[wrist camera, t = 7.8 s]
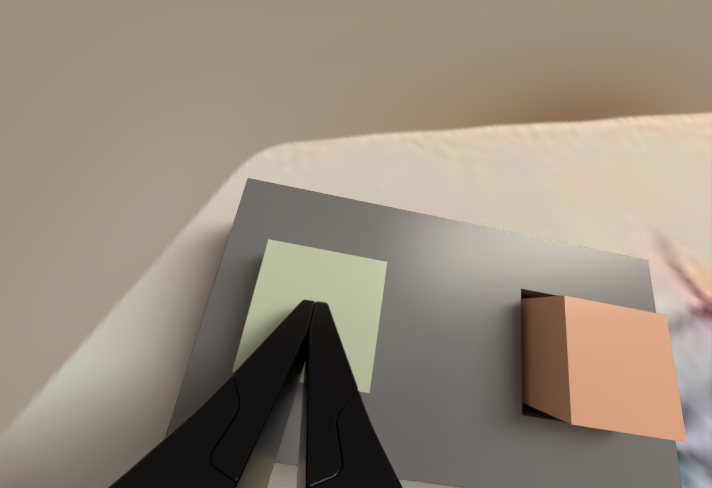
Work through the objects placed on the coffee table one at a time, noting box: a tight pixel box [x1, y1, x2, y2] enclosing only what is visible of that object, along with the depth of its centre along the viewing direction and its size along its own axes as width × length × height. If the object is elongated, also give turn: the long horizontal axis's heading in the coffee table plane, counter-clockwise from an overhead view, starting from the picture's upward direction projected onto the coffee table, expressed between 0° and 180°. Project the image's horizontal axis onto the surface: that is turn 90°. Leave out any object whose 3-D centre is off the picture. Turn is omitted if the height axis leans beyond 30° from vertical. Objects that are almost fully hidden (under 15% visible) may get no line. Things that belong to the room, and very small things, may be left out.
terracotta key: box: [521, 296, 687, 442], centre depth 13 cm, size 5×5×6 cm
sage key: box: [232, 239, 387, 393], centre depth 12 cm, size 5×5×6 cm
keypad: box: [165, 178, 682, 488], centre depth 14 cm, size 11×21×5 cm, turn 80°
